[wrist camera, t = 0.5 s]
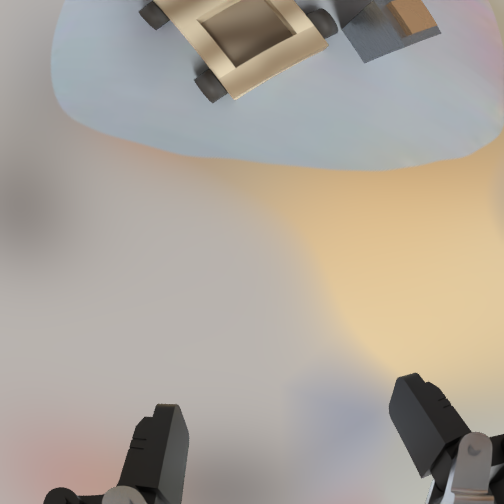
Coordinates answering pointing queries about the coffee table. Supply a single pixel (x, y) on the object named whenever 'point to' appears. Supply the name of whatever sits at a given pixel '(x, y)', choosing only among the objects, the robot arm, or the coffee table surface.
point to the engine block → (389, 27)
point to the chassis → (243, 38)
